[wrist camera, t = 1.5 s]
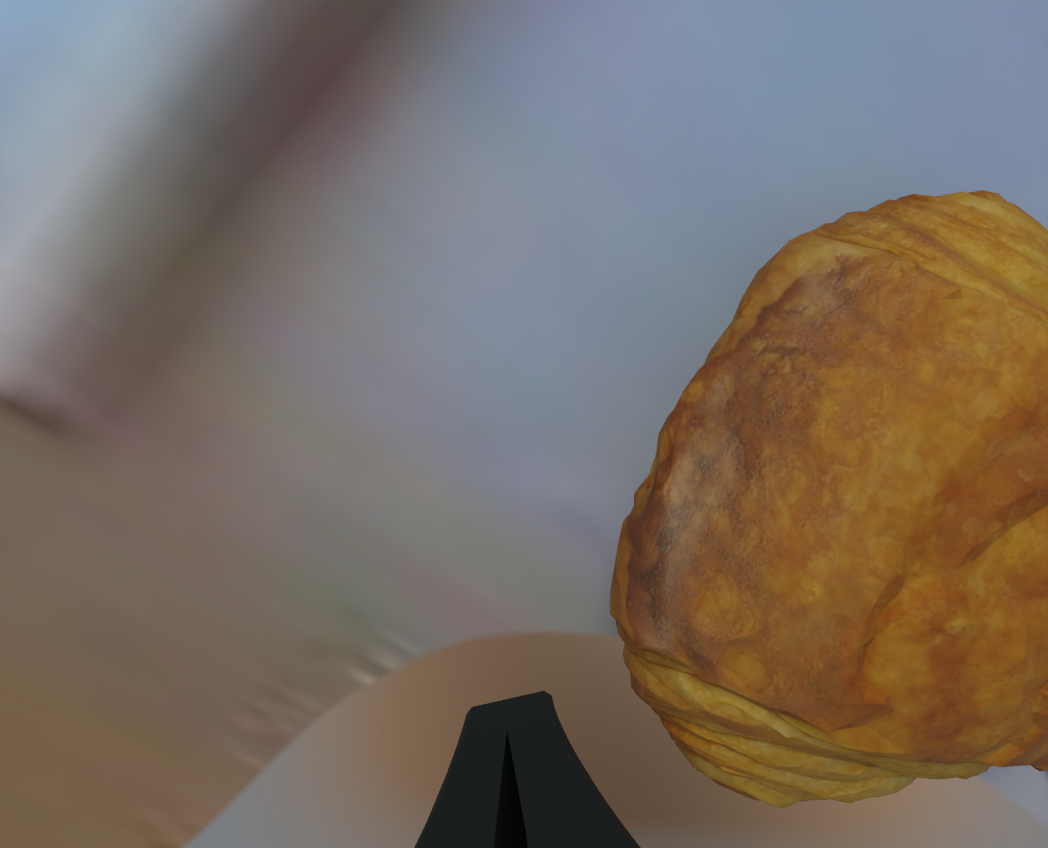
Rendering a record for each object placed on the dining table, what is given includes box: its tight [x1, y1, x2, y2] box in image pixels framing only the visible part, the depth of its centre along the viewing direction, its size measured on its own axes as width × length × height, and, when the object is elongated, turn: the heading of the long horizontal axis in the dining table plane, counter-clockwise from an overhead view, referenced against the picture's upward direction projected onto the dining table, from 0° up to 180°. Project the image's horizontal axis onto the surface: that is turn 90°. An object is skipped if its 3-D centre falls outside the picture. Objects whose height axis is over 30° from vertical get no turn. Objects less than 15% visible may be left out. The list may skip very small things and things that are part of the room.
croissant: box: [610, 190, 1048, 808], centre depth 16 cm, size 14×16×8 cm
